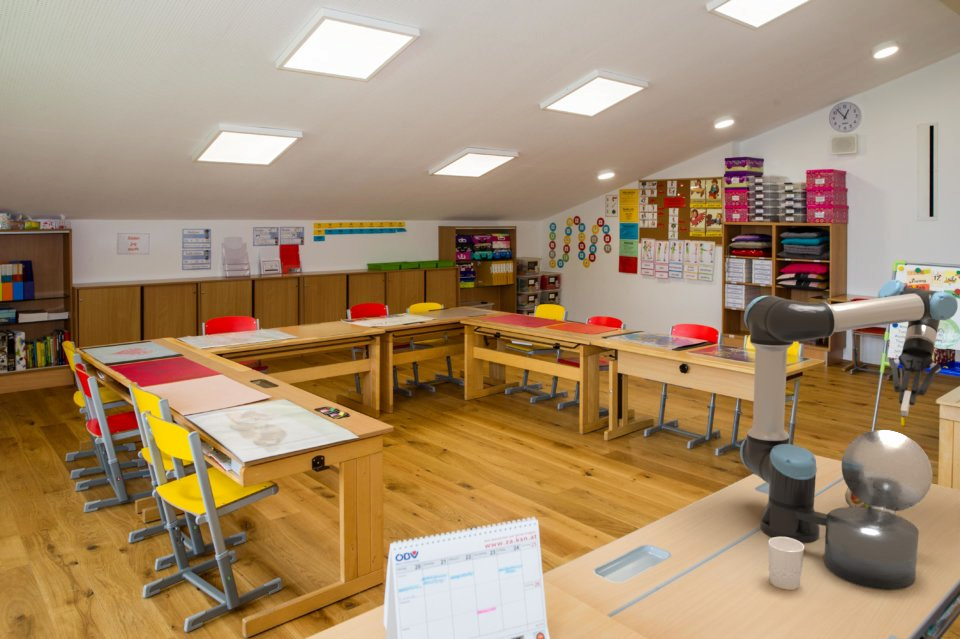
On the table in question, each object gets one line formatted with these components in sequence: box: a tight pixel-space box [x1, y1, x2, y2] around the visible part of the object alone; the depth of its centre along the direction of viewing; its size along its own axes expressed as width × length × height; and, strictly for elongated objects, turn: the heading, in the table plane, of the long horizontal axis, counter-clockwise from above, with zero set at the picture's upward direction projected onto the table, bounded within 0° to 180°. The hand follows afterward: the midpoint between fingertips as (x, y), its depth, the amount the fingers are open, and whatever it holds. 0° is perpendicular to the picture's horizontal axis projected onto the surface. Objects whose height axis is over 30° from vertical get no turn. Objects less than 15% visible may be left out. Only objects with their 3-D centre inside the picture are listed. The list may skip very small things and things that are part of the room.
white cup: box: [768, 537, 805, 591], centre depth 171 cm, size 8×8×10 cm
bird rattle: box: [844, 487, 868, 508], centre depth 213 cm, size 6×11×9 cm
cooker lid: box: [841, 429, 933, 515], centre depth 185 cm, size 21×21×4 cm
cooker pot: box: [795, 506, 920, 591], centre depth 179 cm, size 28×20×12 cm
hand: (904, 413), depth 195 cm, fingers closed
